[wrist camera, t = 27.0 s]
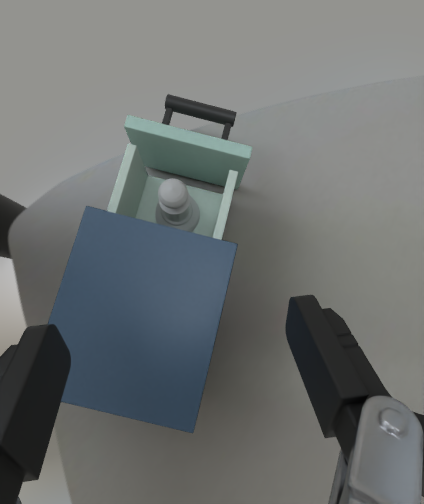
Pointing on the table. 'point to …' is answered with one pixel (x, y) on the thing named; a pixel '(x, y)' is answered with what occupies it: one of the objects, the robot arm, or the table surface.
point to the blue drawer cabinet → (141, 317)
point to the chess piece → (176, 206)
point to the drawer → (180, 164)
